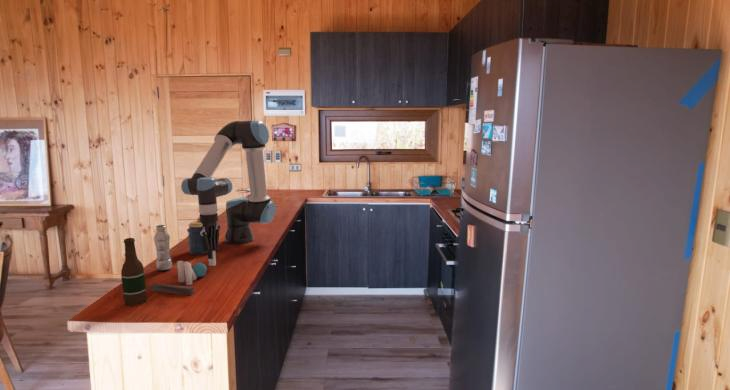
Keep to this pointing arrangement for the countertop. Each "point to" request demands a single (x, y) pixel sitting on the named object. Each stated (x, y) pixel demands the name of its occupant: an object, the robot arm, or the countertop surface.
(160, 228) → the plastic bottle
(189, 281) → the pin
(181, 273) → the back pin
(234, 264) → the countertop surface
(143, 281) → the beer bottle
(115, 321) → the countertop surface
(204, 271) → the ball
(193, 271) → the front pin
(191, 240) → the canister
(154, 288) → the dark grey rod
